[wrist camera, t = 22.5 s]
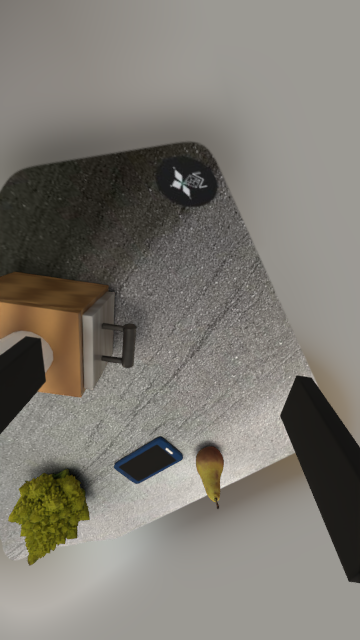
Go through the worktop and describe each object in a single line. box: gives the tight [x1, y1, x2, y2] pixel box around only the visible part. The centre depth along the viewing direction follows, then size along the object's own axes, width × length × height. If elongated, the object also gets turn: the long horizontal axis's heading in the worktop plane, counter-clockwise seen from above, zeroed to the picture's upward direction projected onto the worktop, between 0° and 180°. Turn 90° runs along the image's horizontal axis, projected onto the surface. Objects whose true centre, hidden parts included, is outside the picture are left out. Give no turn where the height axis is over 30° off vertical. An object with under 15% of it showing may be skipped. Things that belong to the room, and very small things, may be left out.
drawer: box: [82, 291, 136, 390], centre depth 33 cm, size 17×11×9 cm, turn 82°
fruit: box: [196, 446, 224, 509], centre depth 44 cm, size 6×6×12 cm
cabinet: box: [0, 272, 109, 397], centre depth 33 cm, size 14×12×11 cm
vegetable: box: [8, 469, 90, 565], centre depth 51 cm, size 15×16×15 cm
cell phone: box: [114, 437, 183, 484], centre depth 51 cm, size 7×14×1 cm, turn 130°
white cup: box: [0, 331, 53, 373], centre depth 25 cm, size 7×7×7 cm
